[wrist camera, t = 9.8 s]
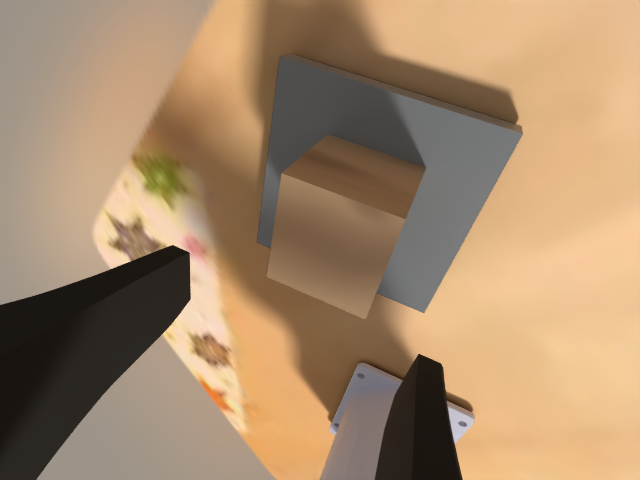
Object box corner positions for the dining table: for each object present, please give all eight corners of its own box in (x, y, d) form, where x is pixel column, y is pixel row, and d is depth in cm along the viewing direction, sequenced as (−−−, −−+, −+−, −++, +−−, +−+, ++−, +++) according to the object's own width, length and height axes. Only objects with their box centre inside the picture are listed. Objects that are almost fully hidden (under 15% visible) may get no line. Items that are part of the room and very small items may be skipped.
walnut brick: (390, 257, 19) (365, 319, 15) (308, 225, 20) (266, 276, 16) (426, 167, 16) (405, 219, 12) (327, 134, 17) (281, 173, 13)
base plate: (426, 300, 21) (423, 312, 20) (265, 233, 22) (256, 242, 22) (521, 126, 15) (523, 133, 14) (290, 53, 16) (279, 56, 16)
